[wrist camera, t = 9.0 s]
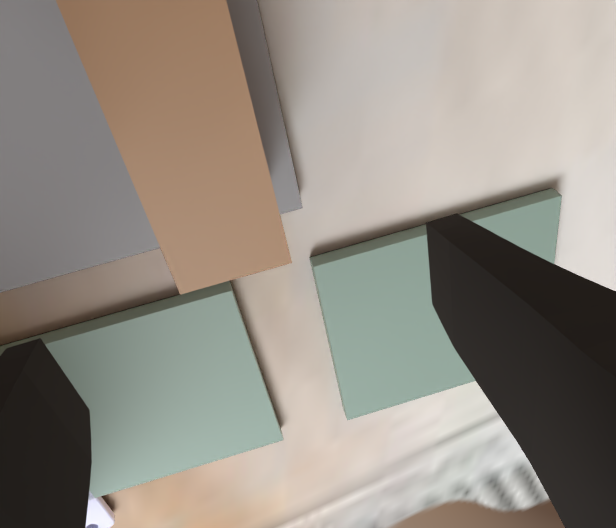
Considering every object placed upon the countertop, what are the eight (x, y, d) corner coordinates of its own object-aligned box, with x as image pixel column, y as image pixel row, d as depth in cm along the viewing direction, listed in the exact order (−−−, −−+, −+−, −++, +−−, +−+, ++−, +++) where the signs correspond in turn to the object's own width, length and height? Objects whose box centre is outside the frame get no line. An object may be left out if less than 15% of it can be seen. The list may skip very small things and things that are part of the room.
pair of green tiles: (74, 492, 26) (73, 504, 25) (-35, 355, 20) (-40, 368, 20) (536, 350, 27) (543, 359, 27) (552, 188, 22) (561, 195, 21)
